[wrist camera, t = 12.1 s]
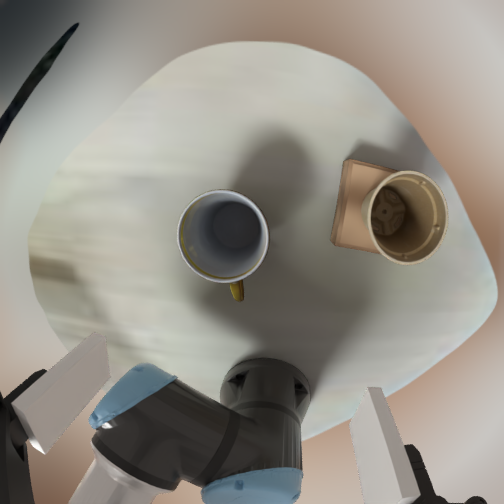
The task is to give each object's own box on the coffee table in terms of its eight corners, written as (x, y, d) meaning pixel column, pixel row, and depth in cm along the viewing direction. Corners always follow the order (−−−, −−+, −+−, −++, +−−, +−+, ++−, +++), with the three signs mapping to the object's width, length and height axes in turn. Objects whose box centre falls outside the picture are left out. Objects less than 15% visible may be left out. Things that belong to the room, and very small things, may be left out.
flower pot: (352, 167, 33) (373, 161, 24) (419, 181, 32) (453, 181, 24) (343, 242, 35) (360, 259, 27) (409, 252, 34) (439, 269, 26)
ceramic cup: (194, 198, 40) (167, 201, 30) (264, 181, 38) (258, 179, 29) (215, 285, 42) (196, 313, 32) (283, 273, 41) (283, 300, 31)
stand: (400, 253, 38) (411, 260, 34) (330, 240, 39) (335, 246, 35) (414, 179, 36) (426, 178, 32) (343, 161, 36) (349, 158, 33)
